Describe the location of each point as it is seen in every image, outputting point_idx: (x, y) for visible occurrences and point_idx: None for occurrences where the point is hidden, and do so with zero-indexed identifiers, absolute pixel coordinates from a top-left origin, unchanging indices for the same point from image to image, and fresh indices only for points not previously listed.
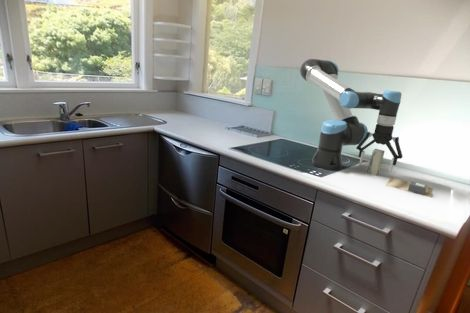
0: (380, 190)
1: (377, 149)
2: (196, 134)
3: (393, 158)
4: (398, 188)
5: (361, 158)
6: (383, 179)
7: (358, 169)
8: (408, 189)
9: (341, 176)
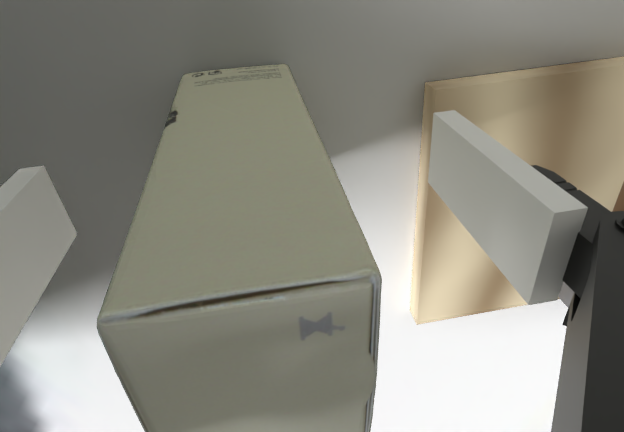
0: (394, 367)
1: (185, 353)
2: None
3: (552, 284)
4: (497, 309)
5: (33, 295)
6: (365, 152)
7: (21, 66)
8: (562, 300)
9: (111, 383)
